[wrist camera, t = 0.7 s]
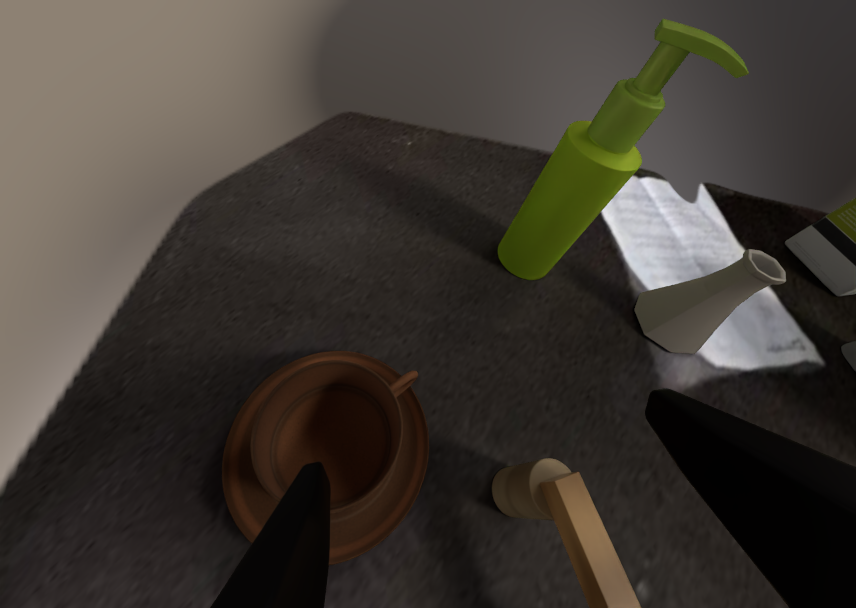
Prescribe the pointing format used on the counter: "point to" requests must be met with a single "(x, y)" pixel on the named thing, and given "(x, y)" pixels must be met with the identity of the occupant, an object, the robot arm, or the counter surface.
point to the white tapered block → (850, 353)
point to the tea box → (830, 249)
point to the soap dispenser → (600, 155)
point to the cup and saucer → (330, 446)
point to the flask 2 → (703, 302)
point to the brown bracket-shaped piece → (567, 525)
